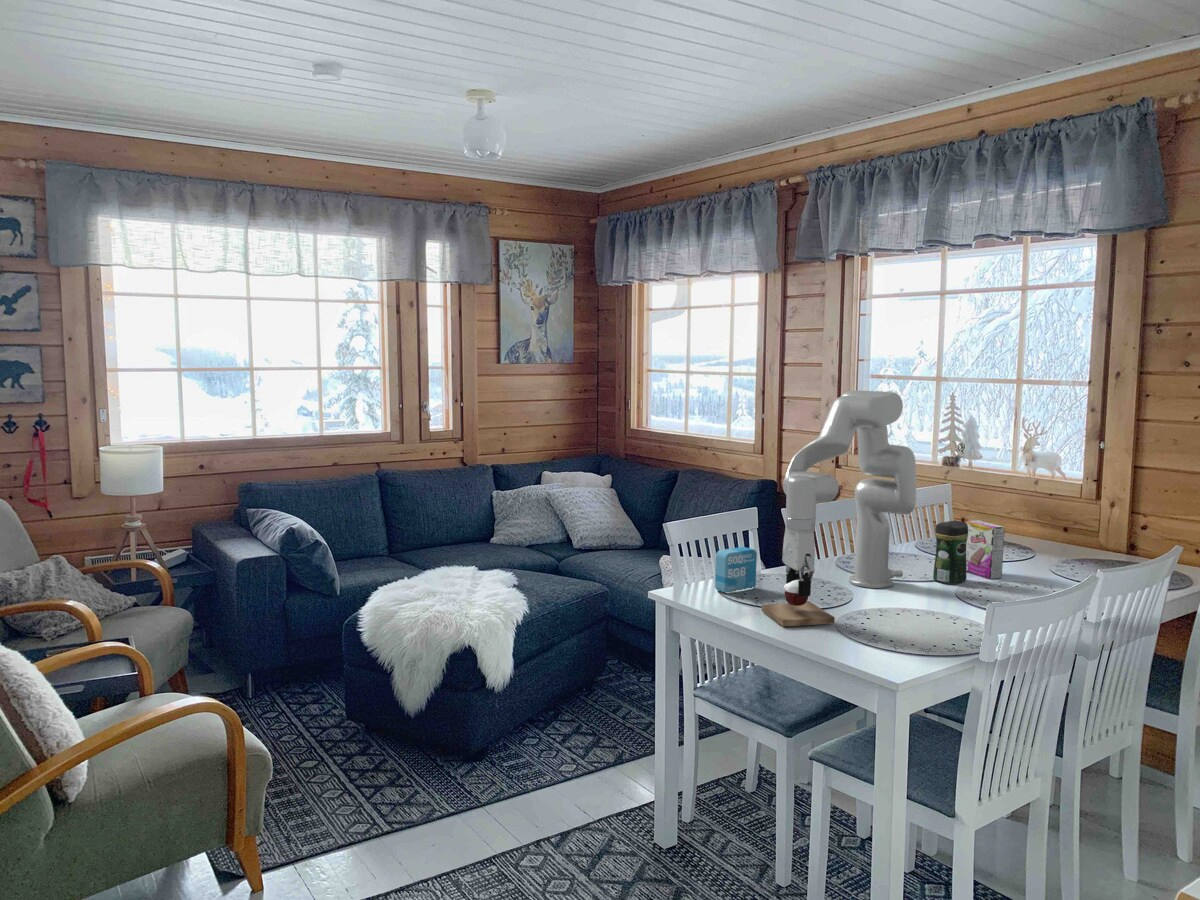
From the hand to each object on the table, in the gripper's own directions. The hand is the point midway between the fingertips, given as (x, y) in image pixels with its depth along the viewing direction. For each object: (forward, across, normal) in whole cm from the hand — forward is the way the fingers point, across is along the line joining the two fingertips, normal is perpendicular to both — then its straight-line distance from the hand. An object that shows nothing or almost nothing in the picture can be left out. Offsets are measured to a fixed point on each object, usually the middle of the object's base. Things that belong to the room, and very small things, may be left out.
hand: (798, 591), depth 234 cm
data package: (+7, -29, -6) cm, 31 cm away
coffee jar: (+7, -27, +62) cm, 68 cm away
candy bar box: (+7, -32, +77) cm, 84 cm away
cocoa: (+3, 0, 0) cm, 3 cm away
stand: (+7, 0, 0) cm, 7 cm away
